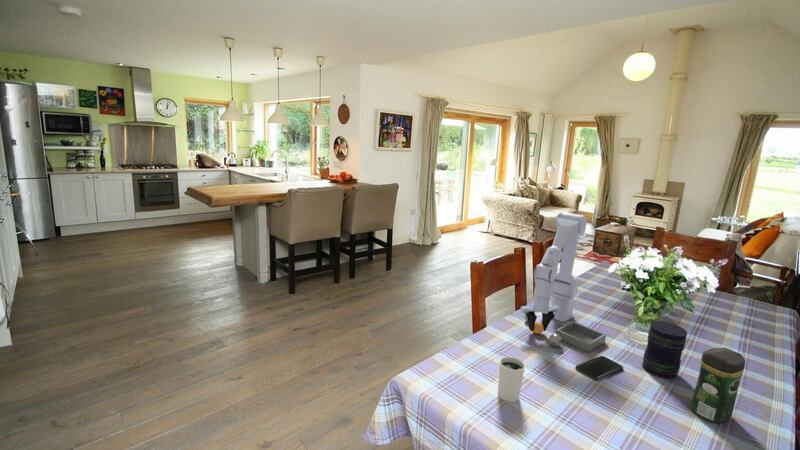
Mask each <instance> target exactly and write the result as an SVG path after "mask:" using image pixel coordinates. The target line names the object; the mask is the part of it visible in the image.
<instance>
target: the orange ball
mask: <svg viewBox="0 0 800 450" xmlns="http://www.w3.org/2000/svg"><path fill="white" fill-rule="evenodd" d="M532 332H533V333H534V334H536V335H541V334H542V333H543V332H544V327H543V325H542V322H539V321H535V325H534V331H532Z"/></svg>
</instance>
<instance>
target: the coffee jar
mask: <svg viewBox="0 0 800 450" xmlns="http://www.w3.org/2000/svg"><path fill="white" fill-rule="evenodd" d="M745 366H746V360H745V358H744V356H743V355H742V354H741V353H739V352H737V351H735V350H733V349H730V348H728V347H725V346H724V347H713V348H709V349H707V350H705V351H703V352H702V356H701V359H700V367H699V372H698V373H699V374H698V376H697V380H696V384H695V388H694V390H693V391H694V392H693V393H692V396H691V402H690V405H689V406H690V409H691V410H692V411H693V412H694V413H695V414H696V415H698V416H699V417H700V418H702V419H704V420H707V421H710V422H713V423H716V424H719V423H723V422H727V420H730V419H731V418H732V416H733V413H734V409H735V404H736V398H737V393H738V391H739V386H740V382H741V379H742V376H743V374H744V370H745Z"/></svg>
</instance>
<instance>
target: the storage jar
mask: <svg viewBox="0 0 800 450" xmlns="http://www.w3.org/2000/svg"><path fill="white" fill-rule="evenodd" d="M687 336H688V331H687V330H686V329H685V328H683V327H681V326H679V325H677V324H674V323H671V322H669V321H662V320H654V321H651V323H650V327H649V330H648V335H647V343H646V344H647V345H646V349H645V350H644V353H643V359H642V365H641V366H642V368H643V370H644V371H646V372H647V373H648V374H651V375H652V376H655V377H657V378H660V379H664V380H675V379H677V378H678V374H679V371H680V369H681V363H682V360H681V357H682V354H683V351H684V350H685V346H686V343H687Z"/></svg>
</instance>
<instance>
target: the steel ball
mask: <svg viewBox="0 0 800 450" xmlns="http://www.w3.org/2000/svg"><path fill="white" fill-rule="evenodd" d="M548 342H549V344H550V345H551V346H552V347H555V348H559V347H560V346H562V344H563V341H562V338H561V336H559V335H558V334H555V333H553V334H551V335H550V336H549V338H548Z"/></svg>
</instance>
